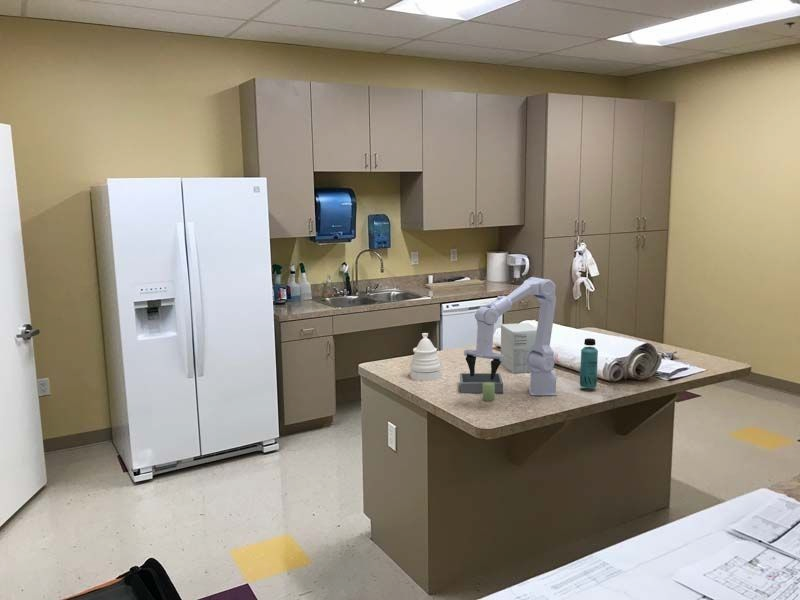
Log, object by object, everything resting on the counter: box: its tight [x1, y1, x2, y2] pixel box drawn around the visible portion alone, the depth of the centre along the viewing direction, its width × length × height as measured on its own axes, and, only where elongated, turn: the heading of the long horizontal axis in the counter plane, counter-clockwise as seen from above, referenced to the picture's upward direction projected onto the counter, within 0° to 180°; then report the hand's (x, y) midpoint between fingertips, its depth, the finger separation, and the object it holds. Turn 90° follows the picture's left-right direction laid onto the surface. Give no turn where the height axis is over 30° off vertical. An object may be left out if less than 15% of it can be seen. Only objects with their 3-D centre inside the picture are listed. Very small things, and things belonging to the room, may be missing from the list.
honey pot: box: [409, 332, 442, 382], centre depth 271 cm, size 13×13×18 cm
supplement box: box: [500, 322, 537, 374], centre depth 282 cm, size 17×13×18 cm
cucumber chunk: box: [482, 382, 496, 402], centre depth 241 cm, size 4×4×6 cm
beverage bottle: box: [579, 337, 599, 389], centre depth 249 cm, size 6×7×20 cm
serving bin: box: [459, 372, 504, 395], centre depth 255 cm, size 16×14×4 cm
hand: (482, 377), depth 235 cm, fingers open, 7 cm apart
